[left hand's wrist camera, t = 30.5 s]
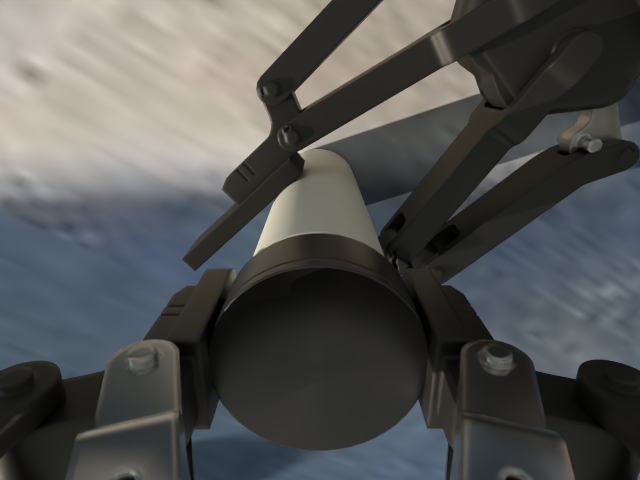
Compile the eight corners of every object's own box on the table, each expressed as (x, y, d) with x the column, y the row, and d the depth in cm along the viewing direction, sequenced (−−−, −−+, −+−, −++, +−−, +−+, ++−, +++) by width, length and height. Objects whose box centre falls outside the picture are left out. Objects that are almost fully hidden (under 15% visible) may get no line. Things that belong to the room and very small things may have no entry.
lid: (450, 312, 11) (477, 359, 9) (326, 421, 12) (327, 481, 10) (309, 192, 10) (307, 217, 8) (189, 325, 11) (162, 375, 9)
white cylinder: (357, 215, 25) (411, 403, 11) (288, 222, 26) (245, 417, 11) (352, 145, 24) (406, 247, 9) (278, 152, 24) (212, 265, 9)
